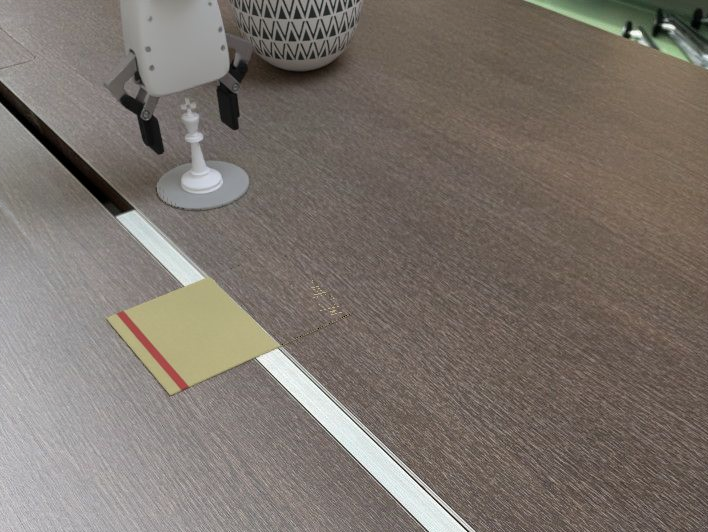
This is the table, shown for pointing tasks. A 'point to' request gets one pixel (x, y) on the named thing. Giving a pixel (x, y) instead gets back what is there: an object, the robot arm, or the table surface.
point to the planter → (298, 30)
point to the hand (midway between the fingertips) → (193, 137)
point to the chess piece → (197, 157)
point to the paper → (192, 334)
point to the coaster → (226, 194)
